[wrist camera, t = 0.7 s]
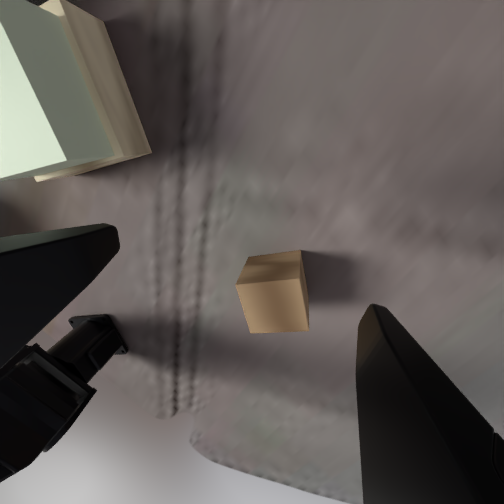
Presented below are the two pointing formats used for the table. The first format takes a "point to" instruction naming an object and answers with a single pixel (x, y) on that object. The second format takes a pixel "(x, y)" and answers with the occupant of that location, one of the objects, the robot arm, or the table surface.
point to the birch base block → (100, 88)
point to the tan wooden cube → (274, 293)
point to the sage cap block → (43, 97)
